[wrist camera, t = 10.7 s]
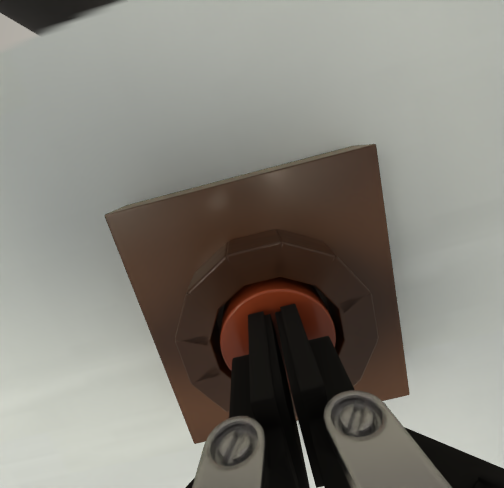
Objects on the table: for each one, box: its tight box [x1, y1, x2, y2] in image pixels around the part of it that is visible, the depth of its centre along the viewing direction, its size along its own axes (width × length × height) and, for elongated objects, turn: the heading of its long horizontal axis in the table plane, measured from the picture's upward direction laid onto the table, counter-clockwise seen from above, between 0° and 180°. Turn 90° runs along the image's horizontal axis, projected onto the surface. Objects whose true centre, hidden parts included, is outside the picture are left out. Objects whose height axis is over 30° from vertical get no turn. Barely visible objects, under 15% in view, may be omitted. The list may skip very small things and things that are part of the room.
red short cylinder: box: [220, 277, 336, 387], centre depth 11 cm, size 4×4×2 cm
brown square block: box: [105, 144, 409, 444], centre depth 13 cm, size 11×10×4 cm
